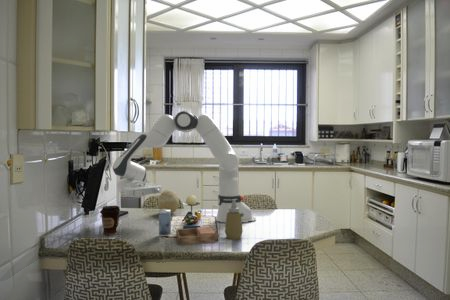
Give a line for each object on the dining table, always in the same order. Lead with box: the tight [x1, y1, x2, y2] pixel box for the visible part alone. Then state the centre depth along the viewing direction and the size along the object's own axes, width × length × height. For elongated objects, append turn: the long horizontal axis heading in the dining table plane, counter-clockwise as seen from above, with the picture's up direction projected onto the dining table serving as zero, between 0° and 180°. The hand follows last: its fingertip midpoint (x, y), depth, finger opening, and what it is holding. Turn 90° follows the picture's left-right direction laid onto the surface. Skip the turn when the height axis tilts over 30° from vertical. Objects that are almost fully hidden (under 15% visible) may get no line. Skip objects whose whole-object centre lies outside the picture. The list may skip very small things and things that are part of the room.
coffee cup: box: [100, 205, 121, 236], centre depth 148 cm, size 9×8×13 cm
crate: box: [175, 226, 219, 245], centre depth 140 cm, size 17×13×4 cm
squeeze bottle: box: [224, 200, 243, 241], centre depth 141 cm, size 8×8×18 cm
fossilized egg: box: [157, 188, 180, 214], centre depth 189 cm, size 13×13×15 cm
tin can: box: [158, 209, 172, 238], centre depth 146 cm, size 6×6×12 cm
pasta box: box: [196, 226, 216, 236], centre depth 141 cm, size 6×10×4 cm, turn 15°
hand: (150, 192), depth 154 cm, fingers open, 8 cm apart
